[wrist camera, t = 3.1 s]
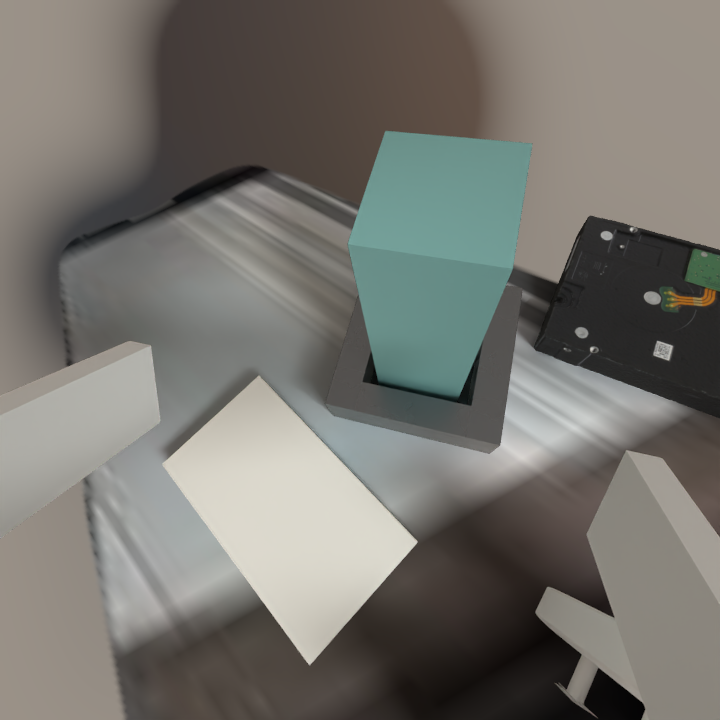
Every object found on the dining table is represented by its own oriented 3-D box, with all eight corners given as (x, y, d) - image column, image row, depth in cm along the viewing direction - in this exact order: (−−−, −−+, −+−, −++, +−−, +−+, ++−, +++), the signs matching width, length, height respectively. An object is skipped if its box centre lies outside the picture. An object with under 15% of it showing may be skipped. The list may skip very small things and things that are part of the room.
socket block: (511, 311, 27) (522, 288, 24) (489, 453, 24) (500, 445, 21) (371, 287, 29) (368, 263, 26) (333, 415, 26) (324, 403, 23)
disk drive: (529, 356, 26) (790, 449, 22) (541, 338, 24) (839, 440, 20) (572, 239, 29) (809, 302, 25) (587, 212, 27) (854, 278, 23)
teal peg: (468, 336, 27) (532, 143, 13) (455, 405, 25) (512, 268, 11) (397, 323, 28) (385, 131, 14) (380, 388, 26) (347, 244, 12)
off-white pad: (417, 540, 22) (417, 542, 21) (315, 655, 21) (309, 665, 19) (266, 382, 27) (258, 375, 26) (175, 467, 26) (161, 464, 24)
